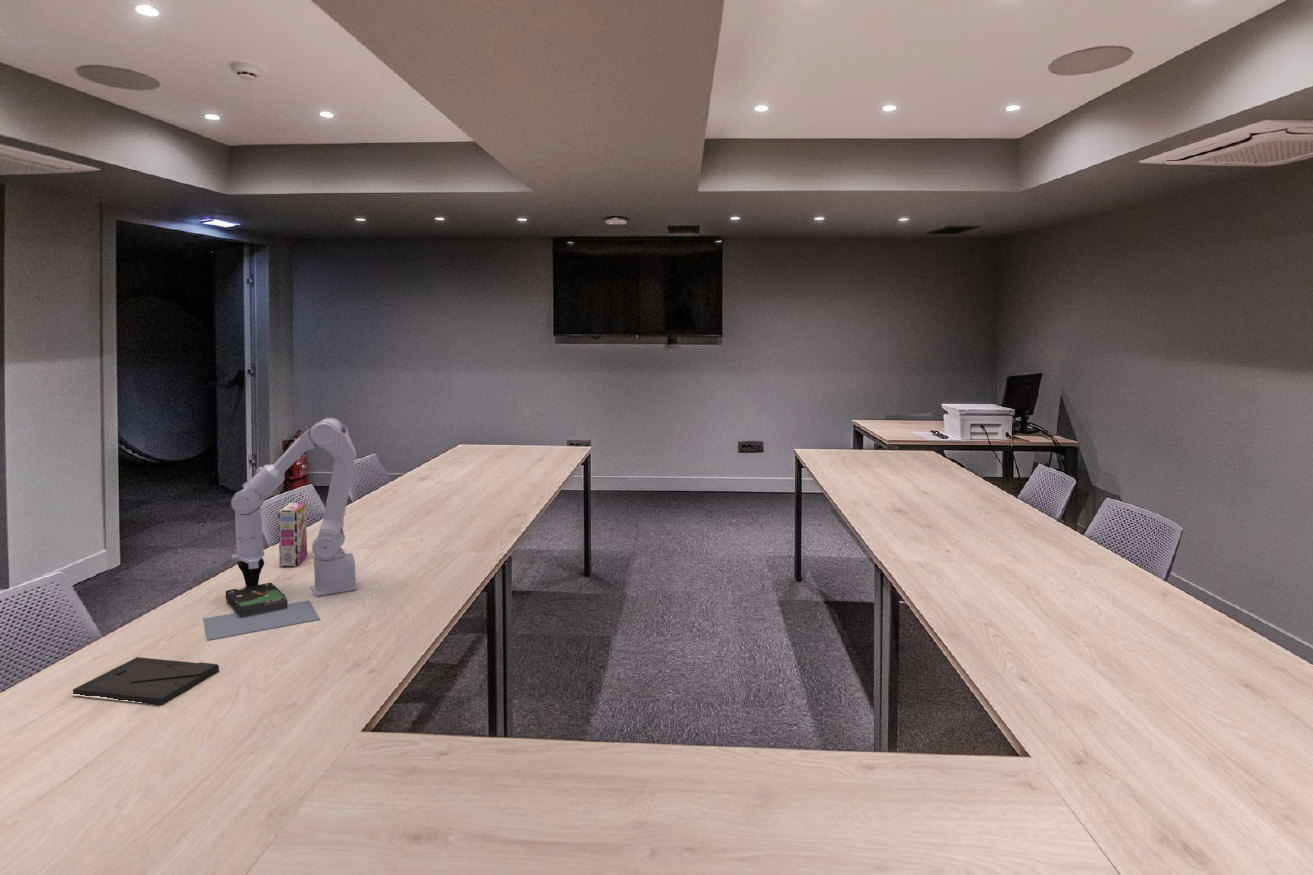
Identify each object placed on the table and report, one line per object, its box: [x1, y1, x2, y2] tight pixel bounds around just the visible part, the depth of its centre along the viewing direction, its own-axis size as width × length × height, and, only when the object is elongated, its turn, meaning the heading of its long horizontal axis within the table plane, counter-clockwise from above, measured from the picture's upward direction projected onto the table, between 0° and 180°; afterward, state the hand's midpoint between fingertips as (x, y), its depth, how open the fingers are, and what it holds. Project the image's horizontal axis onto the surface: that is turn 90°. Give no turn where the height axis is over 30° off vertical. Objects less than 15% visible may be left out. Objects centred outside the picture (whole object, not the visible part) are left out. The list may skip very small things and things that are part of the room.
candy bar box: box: [277, 502, 308, 568], centre depth 203 cm, size 11×5×16 cm, turn 13°
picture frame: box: [72, 656, 220, 706], centre depth 131 cm, size 13×2×18 cm
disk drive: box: [225, 582, 289, 616], centre depth 170 cm, size 10×3×15 cm
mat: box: [203, 600, 321, 642], centre depth 161 cm, size 22×14×1 cm, turn 125°
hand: (252, 589), depth 177 cm, fingers closed
